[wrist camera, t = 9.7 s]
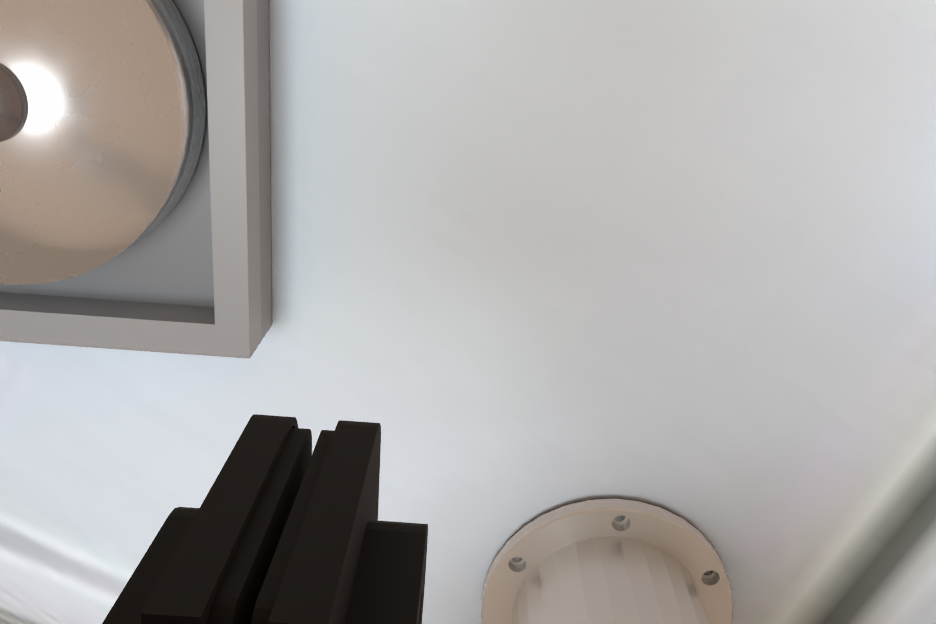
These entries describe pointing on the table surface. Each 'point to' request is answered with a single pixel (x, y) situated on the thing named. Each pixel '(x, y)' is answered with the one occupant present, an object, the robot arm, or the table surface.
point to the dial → (91, 130)
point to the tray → (185, 225)
